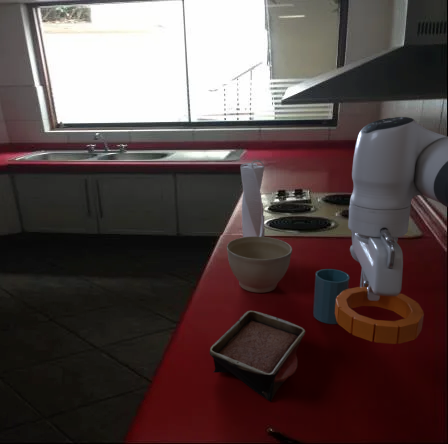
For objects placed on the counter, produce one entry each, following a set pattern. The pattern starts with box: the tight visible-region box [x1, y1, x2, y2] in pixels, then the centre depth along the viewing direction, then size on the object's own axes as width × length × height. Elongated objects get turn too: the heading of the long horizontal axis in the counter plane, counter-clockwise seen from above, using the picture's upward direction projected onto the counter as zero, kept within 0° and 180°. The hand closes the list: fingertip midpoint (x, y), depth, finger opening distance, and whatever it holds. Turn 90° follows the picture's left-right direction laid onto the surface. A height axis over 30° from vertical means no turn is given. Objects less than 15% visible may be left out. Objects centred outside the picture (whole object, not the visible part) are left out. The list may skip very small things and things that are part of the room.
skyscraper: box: [240, 159, 265, 237], centre depth 134 cm, size 8×8×28 cm
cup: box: [312, 268, 351, 325], centre depth 92 cm, size 7×7×10 cm
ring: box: [335, 286, 425, 345], centre depth 68 cm, size 12×12×3 cm
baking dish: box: [209, 310, 306, 403], centre depth 76 cm, size 14×18×10 cm
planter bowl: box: [226, 236, 293, 294], centre depth 108 cm, size 16×16×11 cm
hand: (370, 294), depth 73 cm, fingers closed on ring, 2 cm apart
